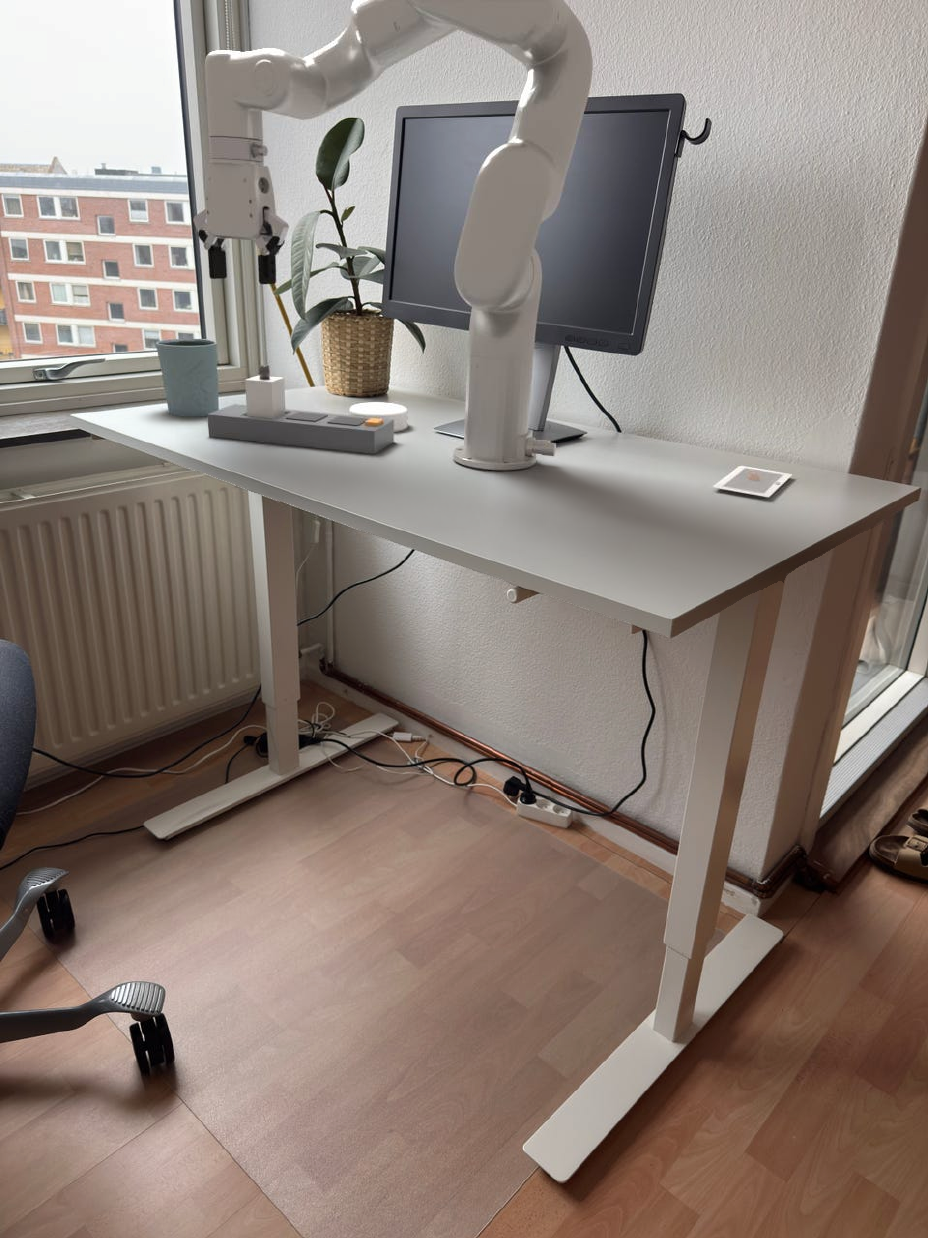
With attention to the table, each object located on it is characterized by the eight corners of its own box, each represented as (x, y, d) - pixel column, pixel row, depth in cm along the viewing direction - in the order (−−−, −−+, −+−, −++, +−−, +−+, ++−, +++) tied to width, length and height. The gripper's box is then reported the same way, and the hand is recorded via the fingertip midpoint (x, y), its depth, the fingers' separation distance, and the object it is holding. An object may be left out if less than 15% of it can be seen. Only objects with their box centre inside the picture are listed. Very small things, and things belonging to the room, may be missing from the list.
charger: (286, 433, 145) (283, 364, 140) (274, 439, 141) (270, 368, 136) (261, 431, 146) (257, 362, 141) (248, 436, 142) (244, 366, 137)
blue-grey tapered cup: (221, 417, 154) (216, 345, 149) (160, 417, 151) (153, 345, 147) (222, 405, 163) (217, 338, 158) (164, 406, 160) (157, 337, 155)
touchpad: (710, 494, 124) (713, 479, 123) (738, 472, 135) (741, 458, 135) (767, 505, 120) (770, 489, 119) (791, 481, 132) (793, 467, 131)
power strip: (393, 441, 143) (393, 415, 141) (374, 453, 135) (374, 427, 133) (236, 425, 149) (234, 400, 147) (208, 436, 141) (206, 410, 139)
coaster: (349, 433, 147) (349, 412, 146) (349, 421, 156) (348, 401, 155) (409, 434, 149) (409, 413, 147) (405, 421, 158) (405, 402, 156)
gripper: (301, 157, 126) (303, 285, 133) (209, 154, 133) (216, 275, 140) (266, 152, 120) (271, 286, 127) (172, 150, 127) (182, 277, 134)
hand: (242, 280), depth 134 cm, fingers open, 9 cm apart
